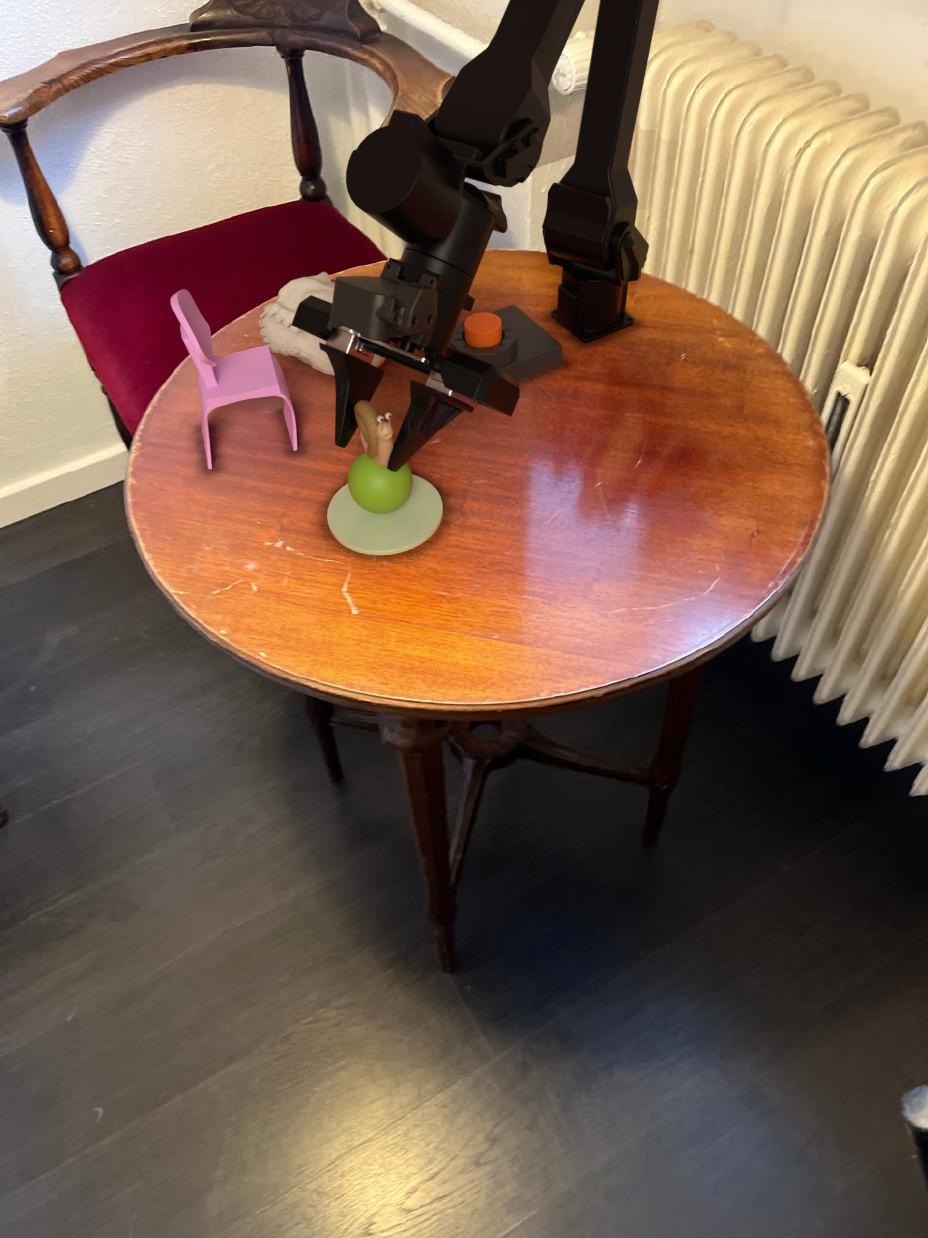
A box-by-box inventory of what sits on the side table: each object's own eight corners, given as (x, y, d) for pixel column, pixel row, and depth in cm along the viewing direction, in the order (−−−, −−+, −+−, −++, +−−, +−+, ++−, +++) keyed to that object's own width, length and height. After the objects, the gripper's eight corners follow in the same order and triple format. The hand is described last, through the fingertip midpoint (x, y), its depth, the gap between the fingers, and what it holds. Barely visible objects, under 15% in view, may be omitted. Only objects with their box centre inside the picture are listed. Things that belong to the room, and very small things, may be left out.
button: (489, 323, 88) (489, 307, 87) (508, 341, 86) (508, 324, 85) (458, 335, 87) (457, 319, 86) (477, 353, 85) (476, 337, 84)
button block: (513, 322, 95) (513, 287, 92) (561, 363, 90) (563, 328, 87) (429, 354, 92) (426, 319, 89) (474, 398, 87) (473, 363, 84)
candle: (260, 366, 91) (373, 321, 98) (330, 412, 85) (443, 361, 93) (249, 280, 84) (370, 239, 92) (323, 324, 79) (445, 276, 87)
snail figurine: (374, 543, 74) (352, 429, 65) (343, 497, 78) (317, 383, 68) (432, 518, 76) (418, 403, 66) (398, 475, 79) (381, 360, 70)
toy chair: (304, 456, 82) (270, 309, 71) (209, 477, 81) (158, 331, 69) (290, 403, 87) (256, 259, 76) (200, 422, 86) (152, 278, 75)
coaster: (408, 460, 81) (408, 456, 81) (464, 525, 76) (464, 521, 75) (309, 502, 78) (308, 497, 78) (359, 572, 73) (358, 568, 72)
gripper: (282, 192, 64) (212, 398, 67) (496, 261, 57) (406, 489, 60) (366, 248, 74) (301, 425, 77) (557, 313, 67) (477, 506, 70)
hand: (365, 458), depth 71 cm, fingers closed on snail figurine, 5 cm apart
